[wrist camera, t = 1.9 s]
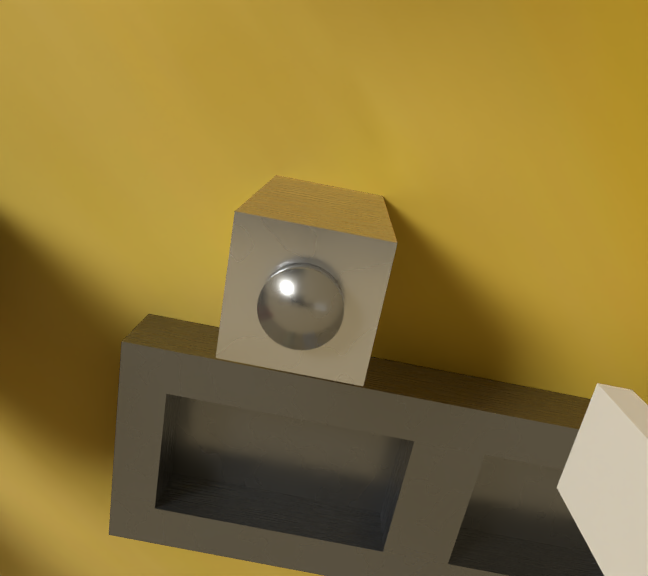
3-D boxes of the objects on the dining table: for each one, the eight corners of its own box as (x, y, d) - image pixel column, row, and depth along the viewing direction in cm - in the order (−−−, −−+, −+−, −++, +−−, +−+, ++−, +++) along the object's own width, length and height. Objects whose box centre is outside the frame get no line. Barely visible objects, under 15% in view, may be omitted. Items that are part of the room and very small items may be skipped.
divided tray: (148, 313, 24) (121, 341, 22) (748, 429, 25) (799, 471, 22) (133, 490, 28) (108, 534, 25) (663, 591, 28) (698, 646, 25)
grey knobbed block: (276, 175, 22) (229, 215, 14) (382, 196, 22) (399, 248, 14) (260, 277, 24) (210, 367, 15) (360, 296, 24) (363, 396, 15)
